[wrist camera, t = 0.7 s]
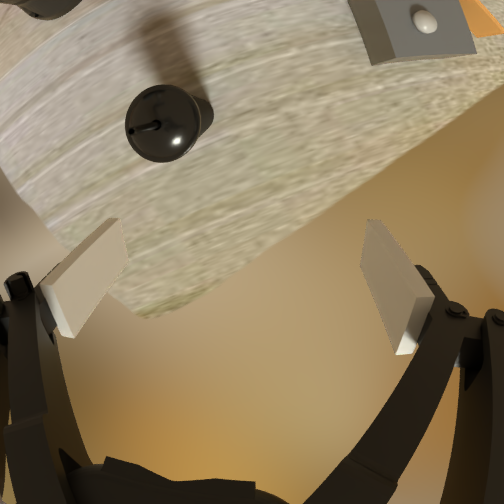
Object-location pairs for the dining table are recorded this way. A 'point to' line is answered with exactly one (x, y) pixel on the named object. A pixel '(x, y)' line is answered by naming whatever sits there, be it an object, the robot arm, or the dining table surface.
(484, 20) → the side door
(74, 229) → the dining table surface
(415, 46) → the grey box
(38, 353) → the robot arm
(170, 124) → the drinking cup
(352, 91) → the dining table surface
